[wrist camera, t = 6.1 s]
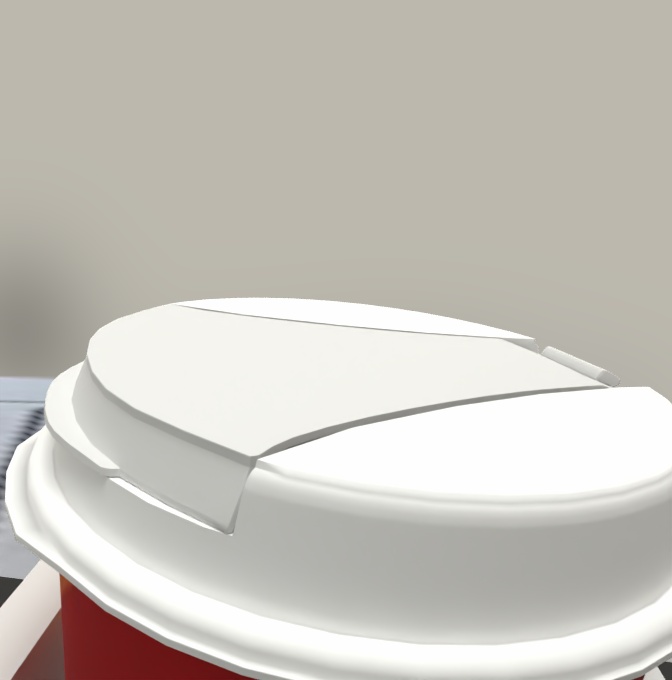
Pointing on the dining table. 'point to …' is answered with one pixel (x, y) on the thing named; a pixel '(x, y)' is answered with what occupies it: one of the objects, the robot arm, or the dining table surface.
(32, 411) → the dining table surface
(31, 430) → the dining table surface
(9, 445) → the dining table surface
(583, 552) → the paper cup
